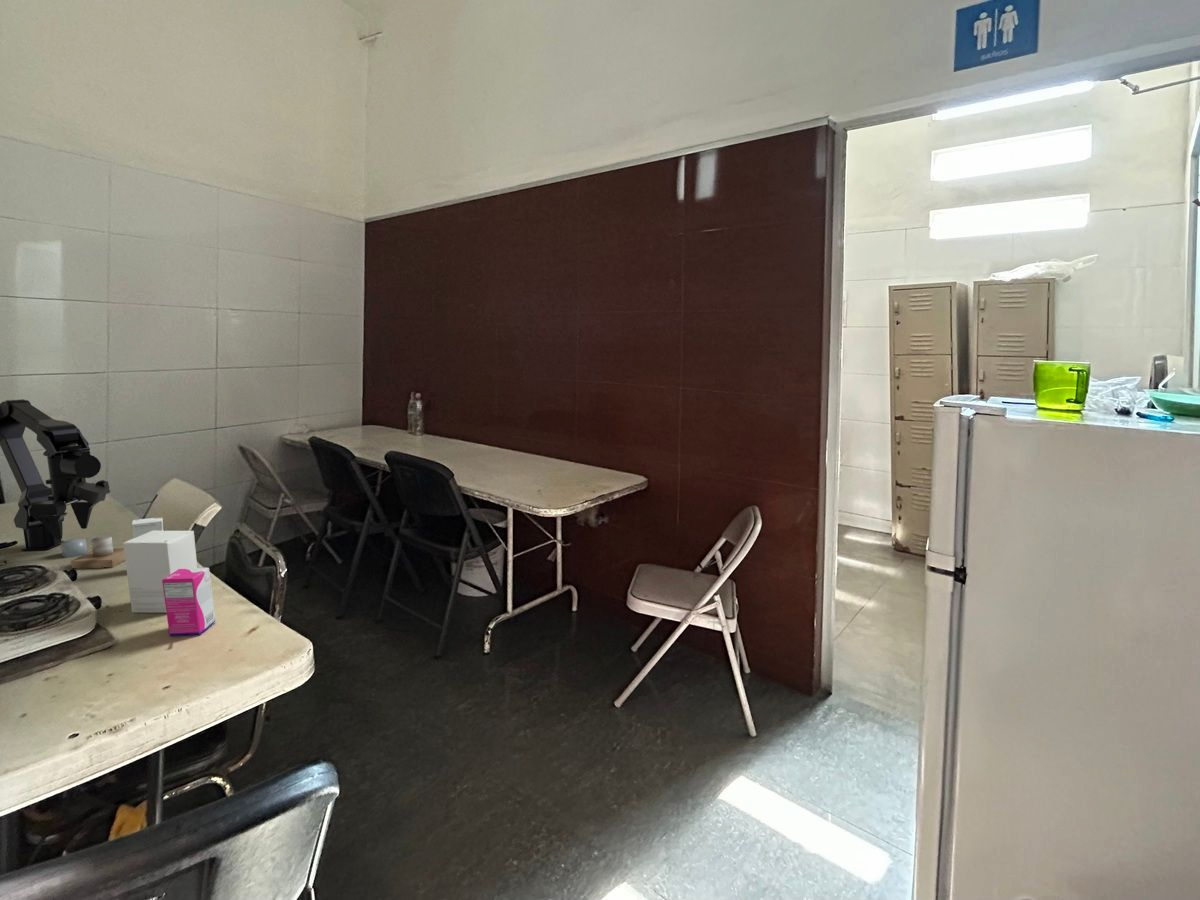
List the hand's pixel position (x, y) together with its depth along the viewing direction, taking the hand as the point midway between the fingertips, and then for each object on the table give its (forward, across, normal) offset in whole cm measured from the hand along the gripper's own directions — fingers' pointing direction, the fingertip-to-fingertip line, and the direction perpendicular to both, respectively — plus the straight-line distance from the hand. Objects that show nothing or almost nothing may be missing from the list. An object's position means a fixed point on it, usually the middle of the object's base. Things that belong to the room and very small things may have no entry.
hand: (72, 533), depth 160 cm
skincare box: (+6, -13, -25) cm, 29 cm away
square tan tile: (+5, -7, -11) cm, 14 cm away
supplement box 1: (+5, -36, -40) cm, 54 cm away
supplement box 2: (+5, -49, -51) cm, 71 cm away
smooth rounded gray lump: (+6, 0, 0) cm, 6 cm away
